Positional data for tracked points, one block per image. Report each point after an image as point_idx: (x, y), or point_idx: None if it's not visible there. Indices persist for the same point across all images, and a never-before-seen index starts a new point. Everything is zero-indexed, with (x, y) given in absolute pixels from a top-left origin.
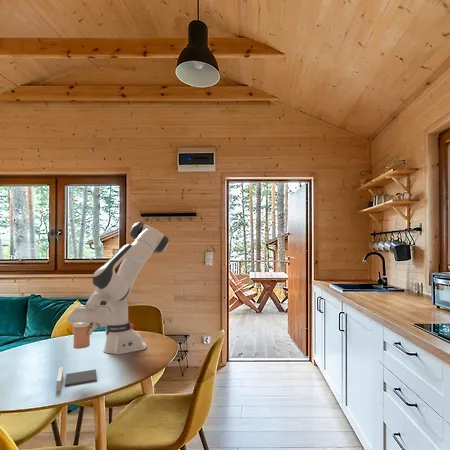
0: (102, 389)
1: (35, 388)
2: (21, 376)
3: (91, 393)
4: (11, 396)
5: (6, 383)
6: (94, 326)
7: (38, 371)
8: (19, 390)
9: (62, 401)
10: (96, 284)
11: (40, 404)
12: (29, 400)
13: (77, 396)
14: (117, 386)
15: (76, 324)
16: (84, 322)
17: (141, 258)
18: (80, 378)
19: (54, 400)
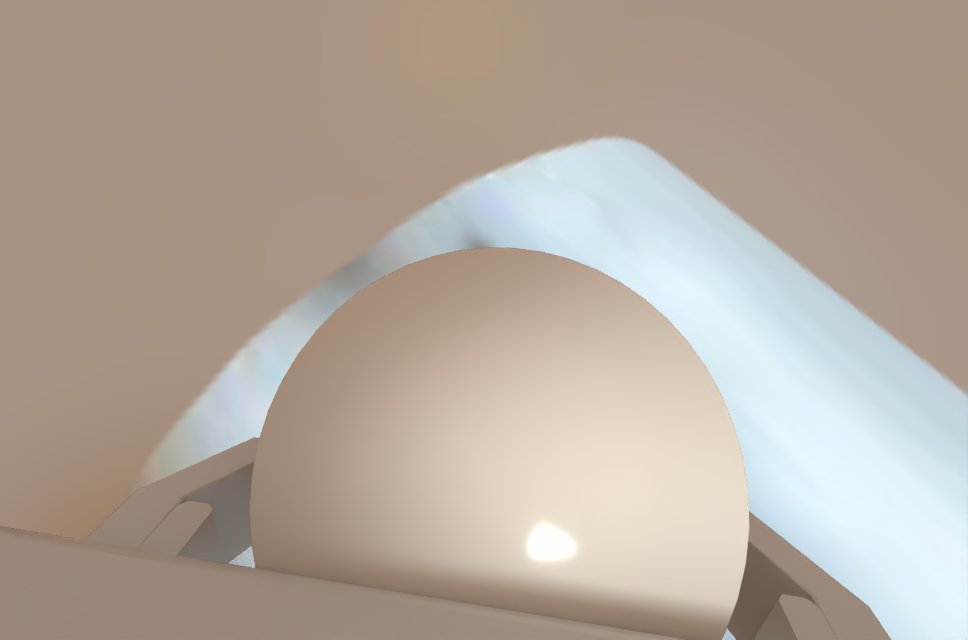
0: (284, 344)
1: (669, 315)
2: (929, 468)
3: (325, 295)
4: (709, 224)
5: (903, 355)
6: (164, 488)
7: (905, 576)
8: (734, 284)
9: (425, 209)
10: None
11: (507, 177)
12: (587, 201)
13: (381, 258)
14: (210, 390)
15: (525, 258)
16: (430, 500)
17: None
18: None
19: (469, 213)
